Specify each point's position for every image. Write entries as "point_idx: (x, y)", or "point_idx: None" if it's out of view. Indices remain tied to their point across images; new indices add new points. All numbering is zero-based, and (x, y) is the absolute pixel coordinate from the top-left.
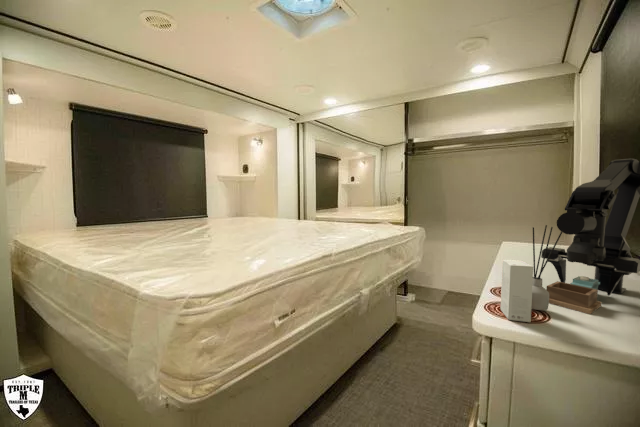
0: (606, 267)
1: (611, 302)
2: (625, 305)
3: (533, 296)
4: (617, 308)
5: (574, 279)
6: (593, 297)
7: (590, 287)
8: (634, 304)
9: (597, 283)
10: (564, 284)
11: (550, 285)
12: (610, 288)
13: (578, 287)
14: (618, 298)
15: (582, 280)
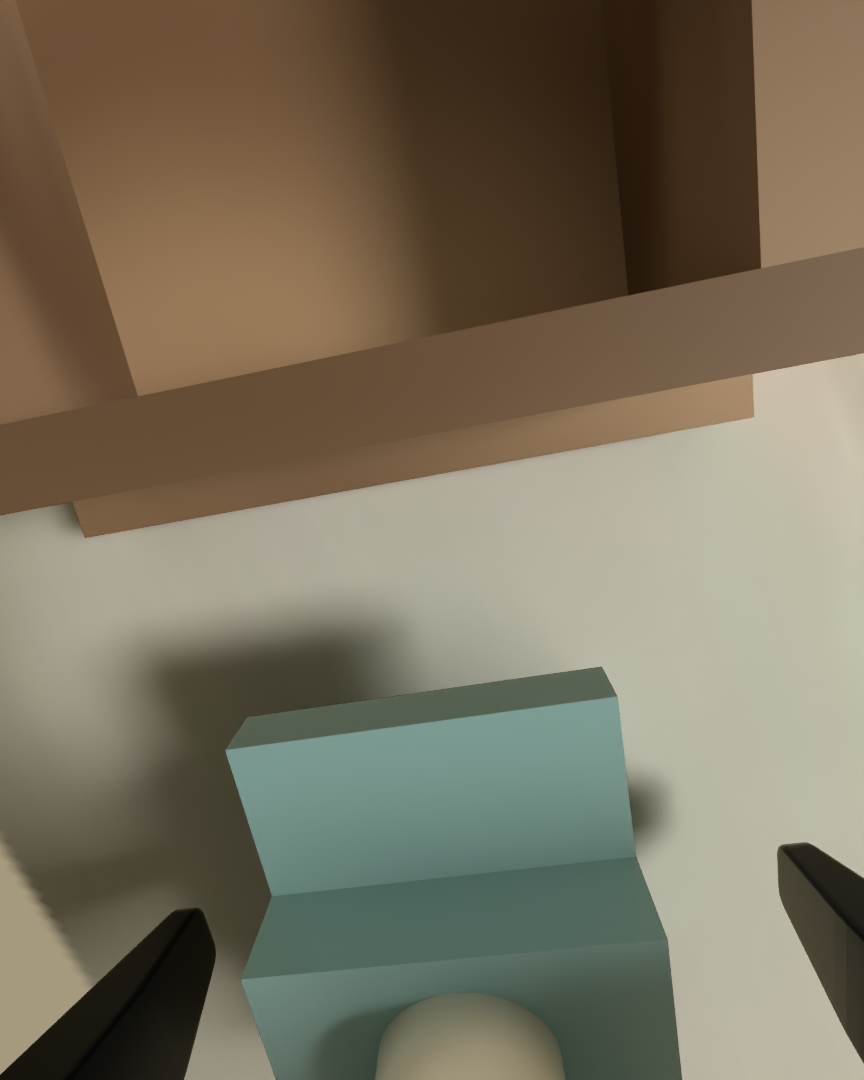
0: None
1: (192, 825)
2: (80, 850)
3: None
4: (23, 634)
5: (625, 936)
6: None
7: (231, 762)
8: (82, 972)
9: None
10: (610, 302)
11: None
12: (72, 1025)
13: (267, 374)
14: (258, 1047)
15: (469, 997)
